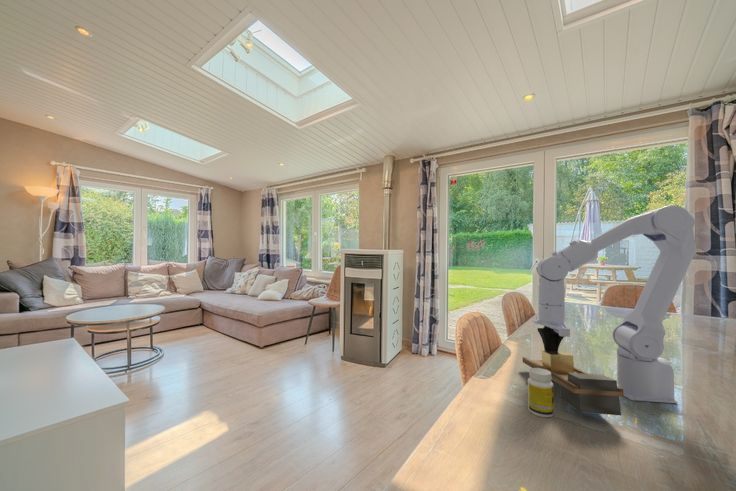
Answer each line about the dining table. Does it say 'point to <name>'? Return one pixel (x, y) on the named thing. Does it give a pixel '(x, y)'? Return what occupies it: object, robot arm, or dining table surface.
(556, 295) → the robot arm
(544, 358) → the block
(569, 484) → the dining table surface
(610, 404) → the beam
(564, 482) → the dining table surface
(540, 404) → the supplement bottle
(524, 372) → the dining table surface
